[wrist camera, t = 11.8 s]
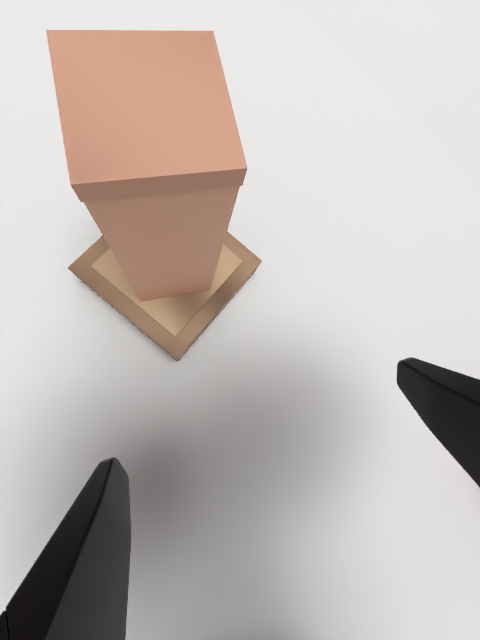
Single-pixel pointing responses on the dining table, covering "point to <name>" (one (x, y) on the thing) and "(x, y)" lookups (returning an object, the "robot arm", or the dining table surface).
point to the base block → (171, 312)
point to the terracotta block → (151, 149)
